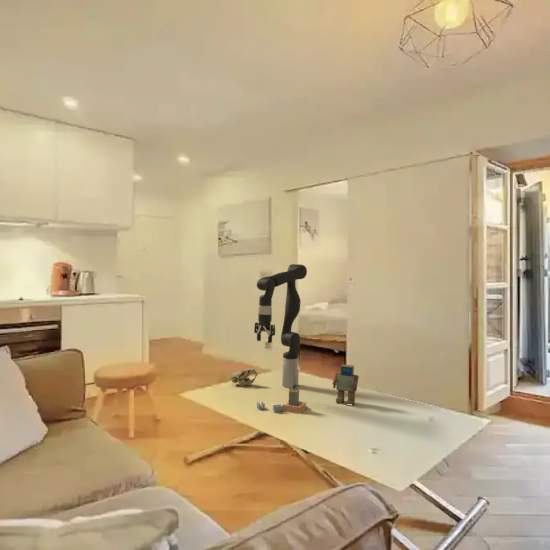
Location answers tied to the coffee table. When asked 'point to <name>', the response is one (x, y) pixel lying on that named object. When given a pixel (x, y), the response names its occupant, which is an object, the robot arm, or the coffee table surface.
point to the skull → (243, 377)
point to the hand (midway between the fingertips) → (264, 341)
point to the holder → (294, 407)
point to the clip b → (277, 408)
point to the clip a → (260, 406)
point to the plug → (294, 395)
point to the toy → (346, 383)
